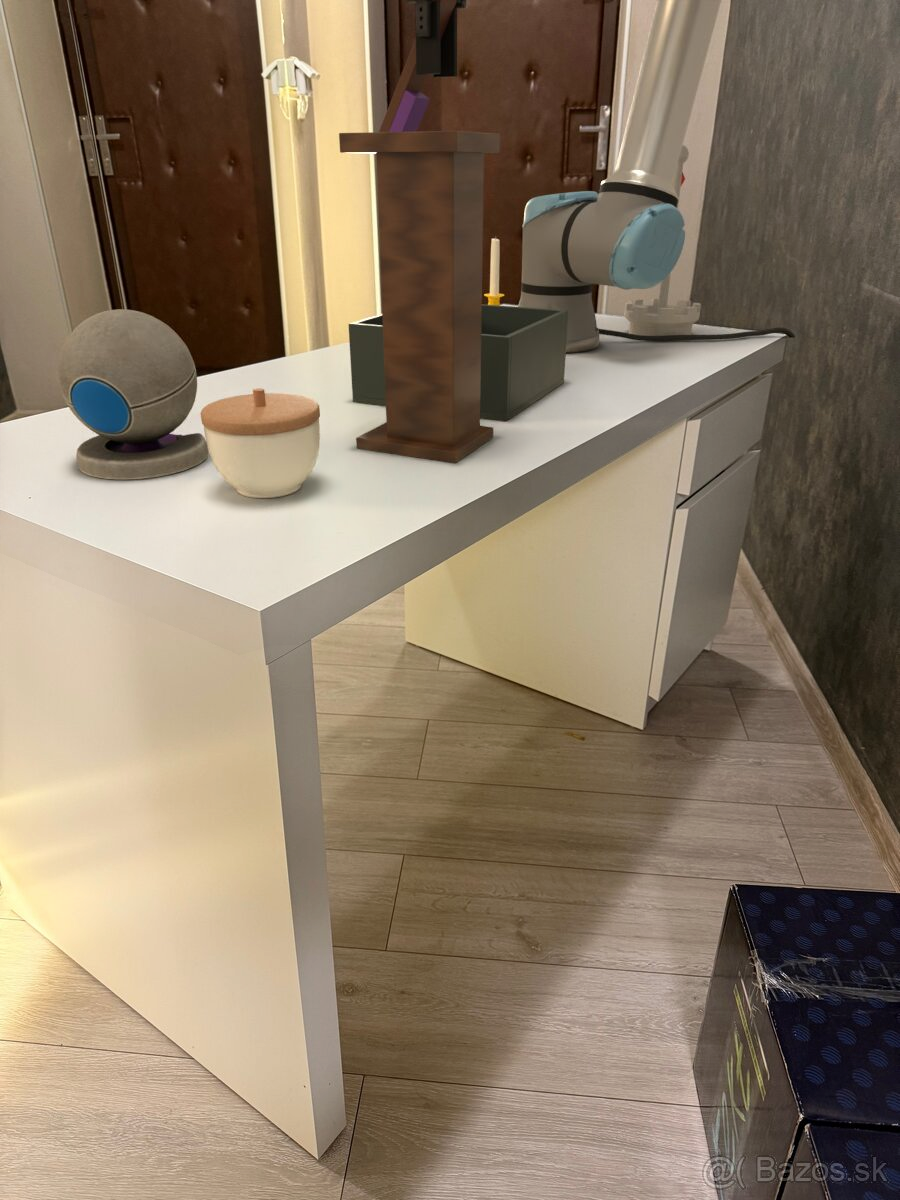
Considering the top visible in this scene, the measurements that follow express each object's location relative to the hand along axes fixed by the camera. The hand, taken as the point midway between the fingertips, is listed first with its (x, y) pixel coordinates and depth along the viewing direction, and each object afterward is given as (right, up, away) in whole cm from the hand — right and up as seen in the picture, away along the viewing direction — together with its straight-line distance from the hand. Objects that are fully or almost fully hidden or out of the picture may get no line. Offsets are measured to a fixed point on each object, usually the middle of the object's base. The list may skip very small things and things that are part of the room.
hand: (437, 75), depth 95 cm
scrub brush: (-3, +2, +1) cm, 3 cm away
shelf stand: (-1, -43, -3) cm, 43 cm away
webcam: (-31, -46, -8) cm, 56 cm away
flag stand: (+39, -13, +54) cm, 68 cm away
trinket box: (-16, -50, -15) cm, 54 cm away
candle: (+10, -8, +64) cm, 65 cm away
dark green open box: (+3, -32, +17) cm, 37 cm away
